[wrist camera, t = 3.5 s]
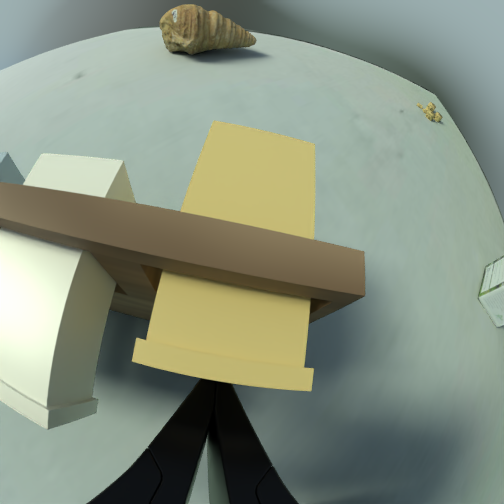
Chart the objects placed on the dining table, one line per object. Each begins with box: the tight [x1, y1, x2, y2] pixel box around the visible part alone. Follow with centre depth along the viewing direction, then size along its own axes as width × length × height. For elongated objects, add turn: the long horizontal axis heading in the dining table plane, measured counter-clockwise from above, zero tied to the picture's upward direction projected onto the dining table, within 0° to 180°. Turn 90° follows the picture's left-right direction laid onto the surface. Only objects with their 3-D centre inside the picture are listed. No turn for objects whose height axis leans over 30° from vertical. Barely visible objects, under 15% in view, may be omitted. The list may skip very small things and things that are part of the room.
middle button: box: [0, 153, 136, 430], centre depth 8 cm, size 9×4×4 cm, turn 172°
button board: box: [0, 182, 365, 323], centre depth 11 cm, size 4×19×12 cm, turn 82°
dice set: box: [417, 102, 443, 122], centre depth 36 cm, size 5×5×2 cm
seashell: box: [160, 4, 256, 55], centre depth 27 cm, size 14×8×8 cm, turn 104°
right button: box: [132, 121, 315, 391], centre depth 9 cm, size 9×4×4 cm, turn 172°
